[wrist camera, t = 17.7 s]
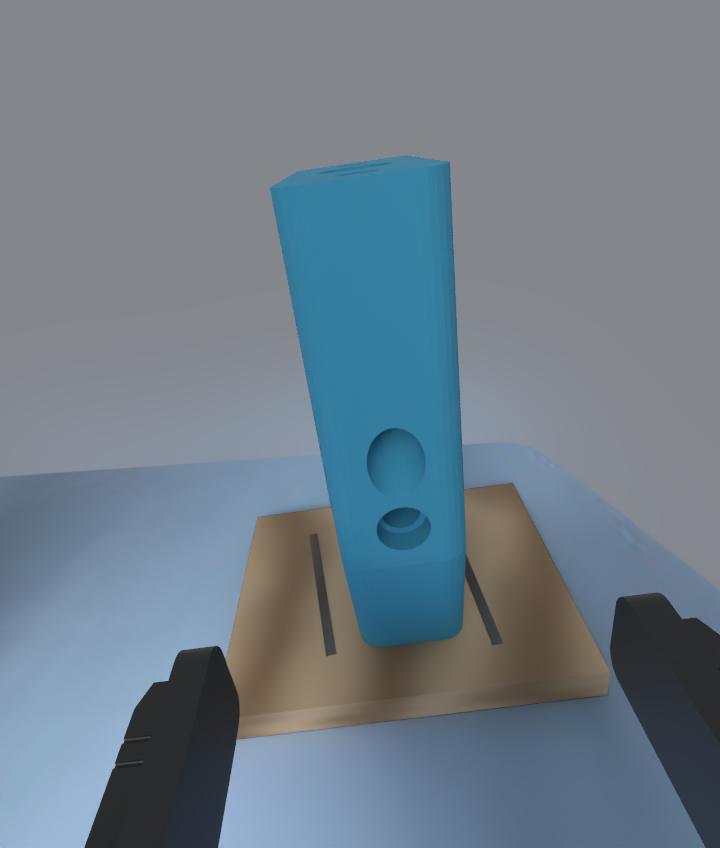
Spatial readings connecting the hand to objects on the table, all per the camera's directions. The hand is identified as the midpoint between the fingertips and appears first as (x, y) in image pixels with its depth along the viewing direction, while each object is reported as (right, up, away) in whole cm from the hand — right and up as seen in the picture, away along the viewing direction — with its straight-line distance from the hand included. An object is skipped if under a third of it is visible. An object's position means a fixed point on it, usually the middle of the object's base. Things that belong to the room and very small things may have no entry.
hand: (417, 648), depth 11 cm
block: (+1, -4, +18) cm, 18 cm away
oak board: (+1, -5, +18) cm, 19 cm away
